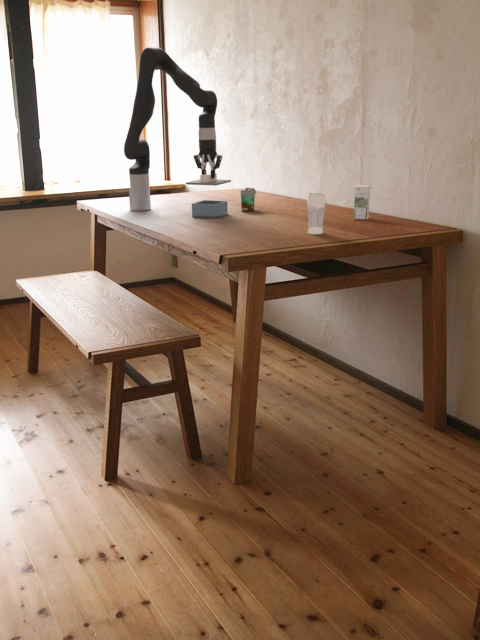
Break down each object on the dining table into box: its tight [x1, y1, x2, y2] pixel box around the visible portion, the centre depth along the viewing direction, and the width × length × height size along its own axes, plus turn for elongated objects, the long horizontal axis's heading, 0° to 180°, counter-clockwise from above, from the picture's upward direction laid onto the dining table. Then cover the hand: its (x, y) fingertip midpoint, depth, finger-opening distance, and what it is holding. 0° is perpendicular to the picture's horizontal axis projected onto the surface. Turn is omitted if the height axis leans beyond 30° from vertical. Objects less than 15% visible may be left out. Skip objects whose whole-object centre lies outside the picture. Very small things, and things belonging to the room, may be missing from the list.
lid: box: [185, 172, 232, 186], centre depth 286 cm, size 15×15×4 cm
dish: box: [191, 199, 229, 219], centre depth 290 cm, size 12×12×6 cm
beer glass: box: [306, 192, 326, 236], centre depth 243 cm, size 7×7×15 cm
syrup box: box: [353, 183, 371, 221], centre depth 272 cm, size 6×6×14 cm
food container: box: [240, 187, 257, 213], centre depth 303 cm, size 12×6×10 cm, turn 168°
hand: (208, 178), depth 286 cm, fingers closed on lid, 3 cm apart
